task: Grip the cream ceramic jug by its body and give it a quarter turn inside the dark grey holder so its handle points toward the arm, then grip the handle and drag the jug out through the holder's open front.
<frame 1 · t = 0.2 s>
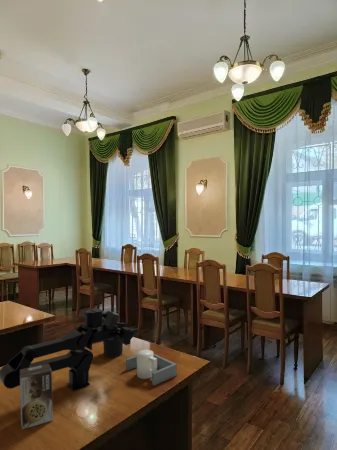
hand: (132, 327, 141), 17 cm above the table, tool horizontal, fingers open, 9 cm apart
pen holder: (113, 354, 153), on the table
jug: (147, 365, 131), in the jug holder
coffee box: (36, 420, 102), on the table
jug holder: (145, 374, 132), on the table
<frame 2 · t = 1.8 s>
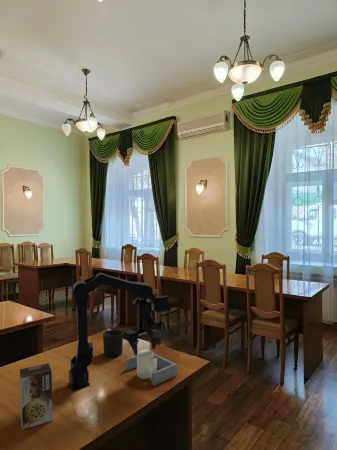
hand: (144, 352, 132), 9 cm above the table, tool pointing down, fingers open, 9 cm apart
nothing on the table moved.
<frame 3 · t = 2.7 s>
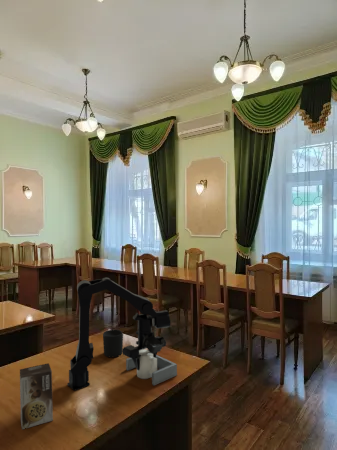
hand: (145, 367, 132), 3 cm above the table, tool pointing down, fingers closed on jug, 7 cm apart
jug: (147, 365, 131), in the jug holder, touching gripper
everything else where it was.
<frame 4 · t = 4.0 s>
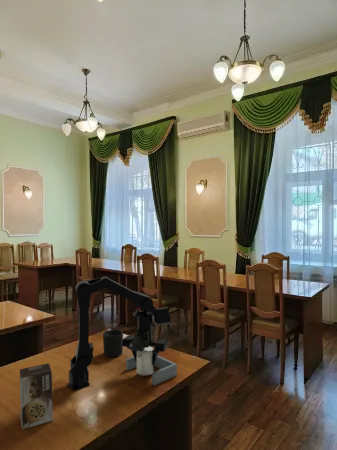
hand: (145, 363, 132), 4 cm above the table, tool pointing down, fingers closed on jug, 7 cm apart
jug: (143, 362, 130), point 6 cm above the table, touching gripper
everything else where it was.
when the fingers open (3 cm above the table, at t = 5.3 s): jug stays where it is, on the table.
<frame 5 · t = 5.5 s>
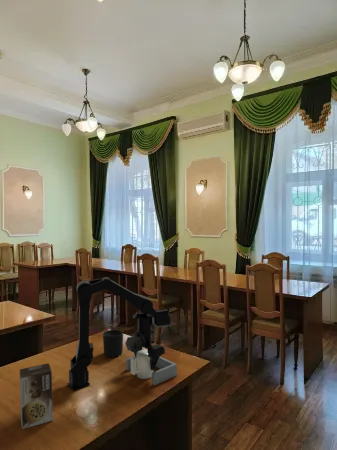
hand: (145, 366, 132), 3 cm above the table, tool pointing down, fingers open, 9 cm apart
jug: (141, 365, 131), in the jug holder
everything else where it was.
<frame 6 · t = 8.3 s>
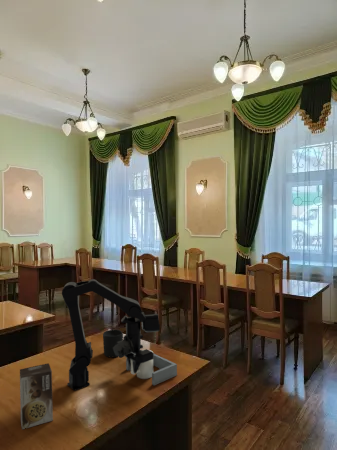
hand: (133, 371, 128), 3 cm above the table, tool pointing down, fingers closed on jug
jug: (141, 365, 131), in the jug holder, touching gripper
everything else where it was.
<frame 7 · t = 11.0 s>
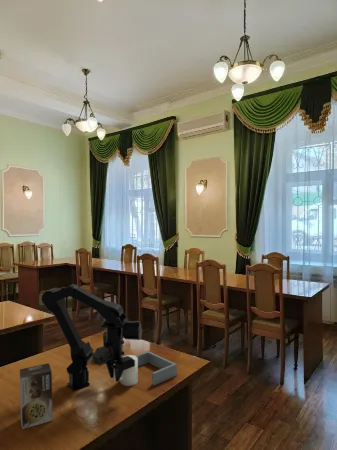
hand: (114, 379, 122), 3 cm above the table, tool pointing down, fingers open, 3 cm apart
jug: (125, 371, 125), on the table
everything else where it was.
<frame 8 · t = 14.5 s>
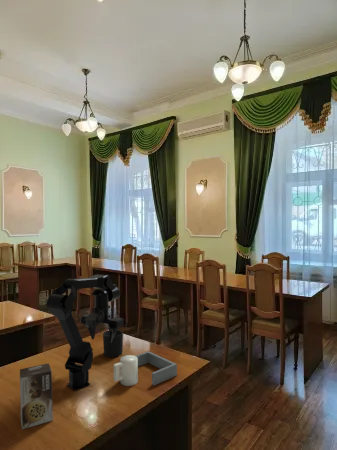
hand: (101, 340, 137), 12 cm above the table, tool pointing down, fingers open, 9 cm apart
nothing on the table moved.
at the end: jug inside the target area (1.4 cm from its centre), on the table; jug tilted 0°; the gripper is holding nothing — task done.
